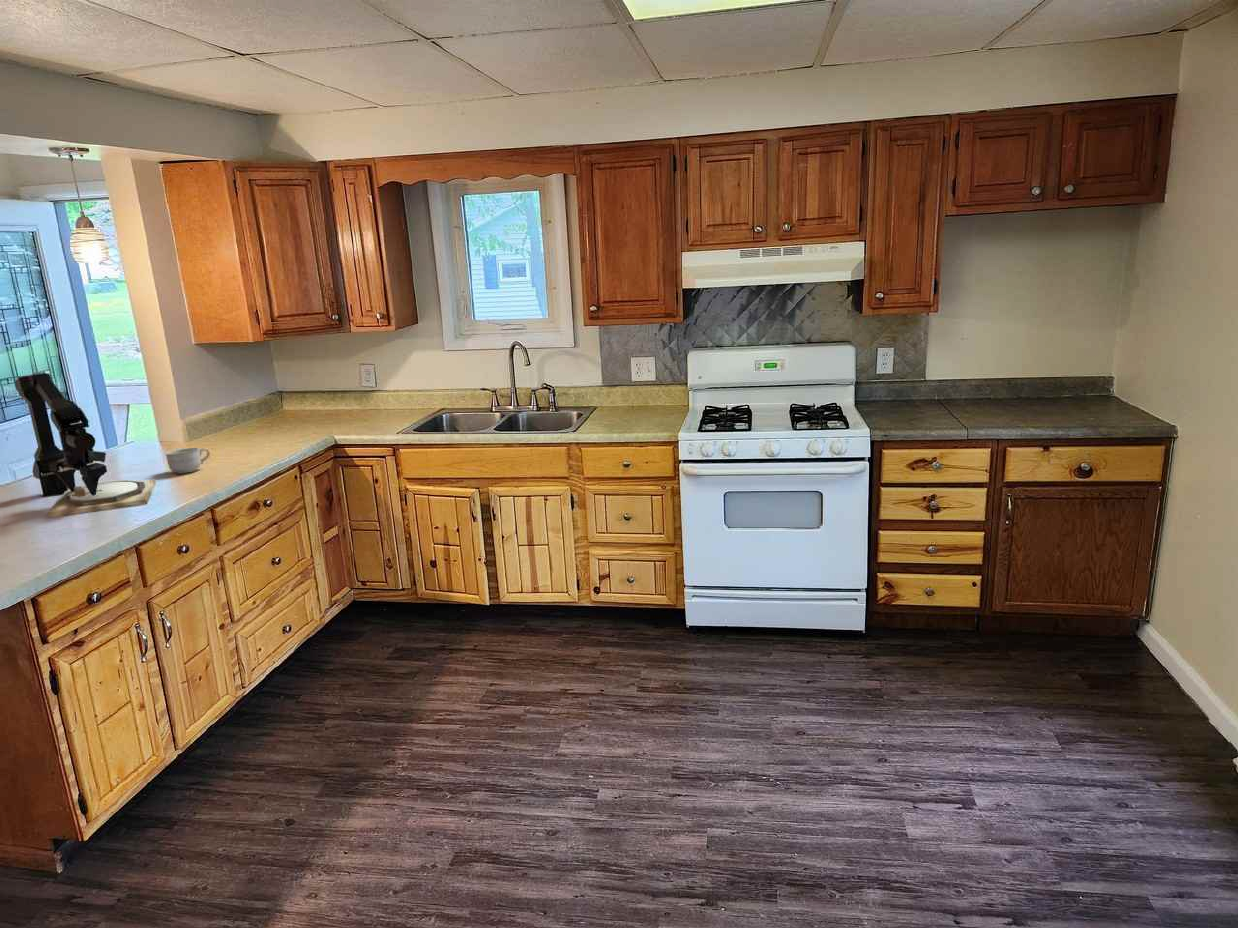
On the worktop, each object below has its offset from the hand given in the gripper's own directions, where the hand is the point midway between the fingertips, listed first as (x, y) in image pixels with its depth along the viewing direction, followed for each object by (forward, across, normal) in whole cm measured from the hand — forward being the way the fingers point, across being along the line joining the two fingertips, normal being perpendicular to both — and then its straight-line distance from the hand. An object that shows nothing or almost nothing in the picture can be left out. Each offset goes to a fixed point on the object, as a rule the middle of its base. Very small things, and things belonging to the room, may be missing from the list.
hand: (83, 493), depth 252 cm
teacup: (+5, +2, -40) cm, 40 cm away
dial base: (+4, -2, -6) cm, 7 cm away
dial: (+2, -1, -6) cm, 6 cm away
